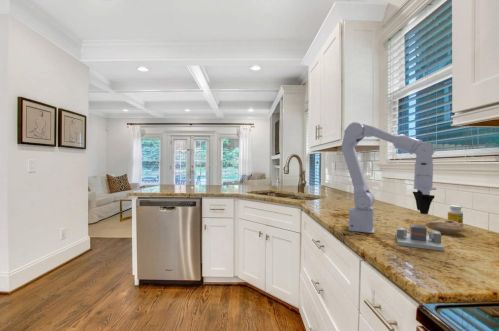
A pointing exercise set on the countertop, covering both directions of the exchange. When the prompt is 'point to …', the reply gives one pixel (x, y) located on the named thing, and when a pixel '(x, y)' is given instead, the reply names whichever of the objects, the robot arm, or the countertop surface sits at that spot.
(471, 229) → the countertop surface
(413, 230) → the block
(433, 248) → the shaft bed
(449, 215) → the supplement bottle
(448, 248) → the countertop surface
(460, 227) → the pottery oil lamp
